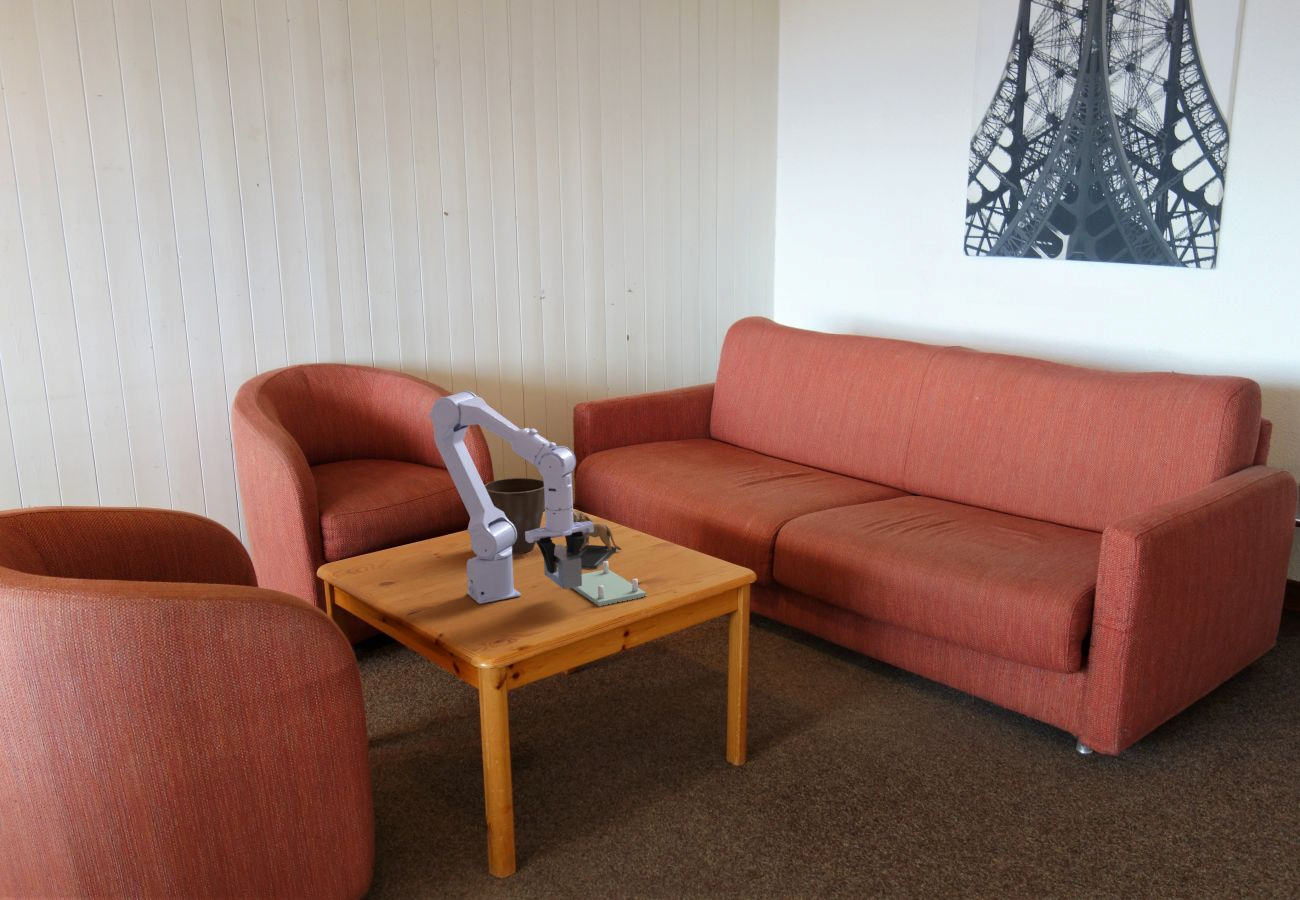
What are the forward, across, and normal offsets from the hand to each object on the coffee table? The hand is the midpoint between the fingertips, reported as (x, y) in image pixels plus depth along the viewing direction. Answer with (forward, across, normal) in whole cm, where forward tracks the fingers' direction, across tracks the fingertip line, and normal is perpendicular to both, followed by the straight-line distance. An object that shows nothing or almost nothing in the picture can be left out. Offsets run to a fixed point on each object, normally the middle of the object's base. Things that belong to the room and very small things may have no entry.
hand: (561, 570), depth 230 cm
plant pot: (+8, +6, +40) cm, 41 cm away
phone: (+8, +18, +24) cm, 31 cm away
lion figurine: (+8, +22, +31) cm, 38 cm away
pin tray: (+7, +11, +3) cm, 14 cm away
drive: (+2, 0, -1) cm, 2 cm away
